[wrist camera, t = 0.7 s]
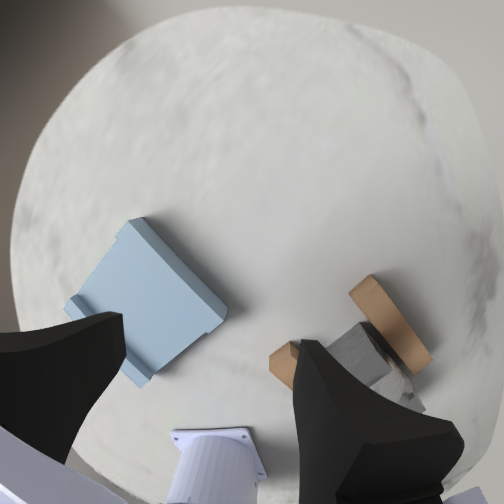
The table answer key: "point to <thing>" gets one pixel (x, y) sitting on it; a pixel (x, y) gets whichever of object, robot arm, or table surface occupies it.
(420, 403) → the silver boxy piece
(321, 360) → the robot arm
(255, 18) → the table surface
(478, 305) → the table surface
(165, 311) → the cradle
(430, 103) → the table surface
